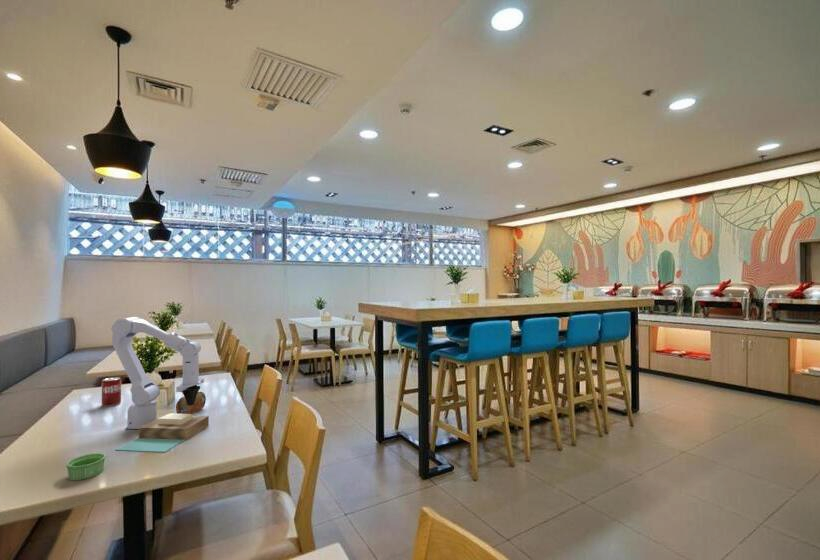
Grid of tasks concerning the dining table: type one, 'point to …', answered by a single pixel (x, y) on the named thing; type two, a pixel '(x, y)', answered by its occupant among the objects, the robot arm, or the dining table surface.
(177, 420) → the cream bevelled block
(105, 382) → the soda can
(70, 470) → the ramekin
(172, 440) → the mat
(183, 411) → the tin
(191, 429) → the wooden block
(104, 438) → the dining table surface
